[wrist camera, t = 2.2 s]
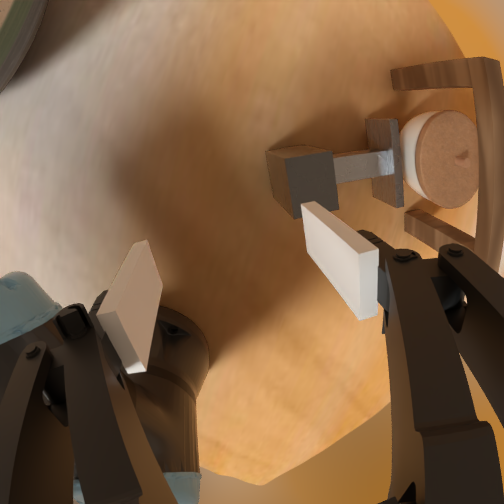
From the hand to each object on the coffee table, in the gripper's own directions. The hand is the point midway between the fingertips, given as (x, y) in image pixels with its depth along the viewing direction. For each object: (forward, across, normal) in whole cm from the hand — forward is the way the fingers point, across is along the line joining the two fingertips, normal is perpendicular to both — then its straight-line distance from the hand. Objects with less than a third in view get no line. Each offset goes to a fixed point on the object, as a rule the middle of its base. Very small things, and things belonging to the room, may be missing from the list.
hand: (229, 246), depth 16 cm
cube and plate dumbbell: (+17, +12, 0) cm, 20 cm away
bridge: (+17, +24, 0) cm, 29 cm away
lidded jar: (+17, +24, 0) cm, 30 cm away
